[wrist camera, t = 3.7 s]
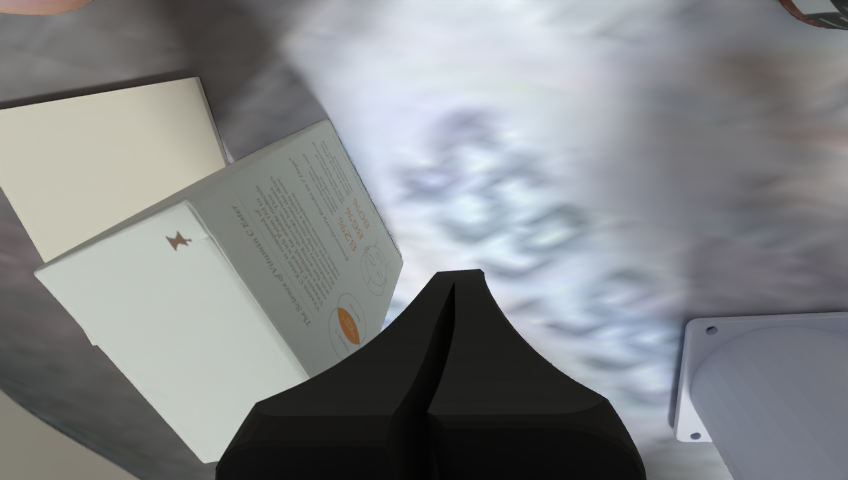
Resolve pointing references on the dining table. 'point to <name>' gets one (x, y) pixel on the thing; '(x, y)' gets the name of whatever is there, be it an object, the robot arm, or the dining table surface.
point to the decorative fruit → (40, 6)
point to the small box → (236, 284)
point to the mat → (104, 158)
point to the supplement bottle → (820, 12)
